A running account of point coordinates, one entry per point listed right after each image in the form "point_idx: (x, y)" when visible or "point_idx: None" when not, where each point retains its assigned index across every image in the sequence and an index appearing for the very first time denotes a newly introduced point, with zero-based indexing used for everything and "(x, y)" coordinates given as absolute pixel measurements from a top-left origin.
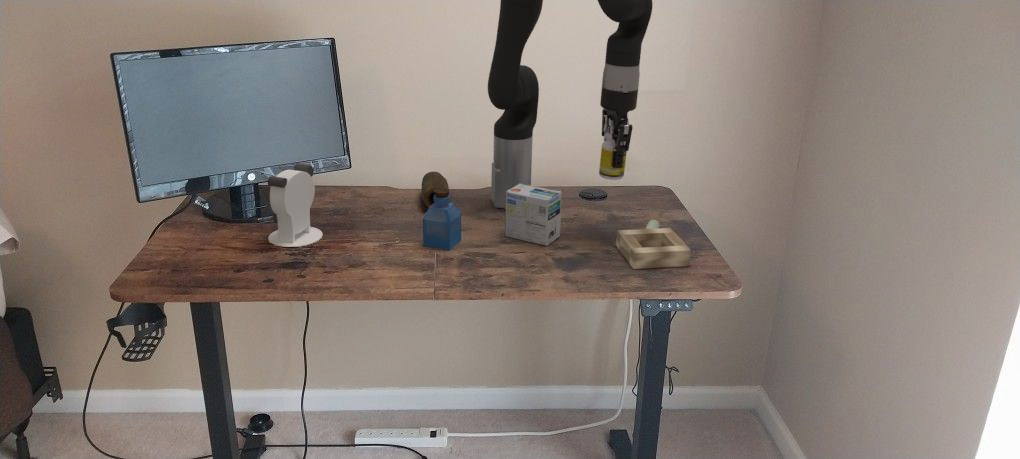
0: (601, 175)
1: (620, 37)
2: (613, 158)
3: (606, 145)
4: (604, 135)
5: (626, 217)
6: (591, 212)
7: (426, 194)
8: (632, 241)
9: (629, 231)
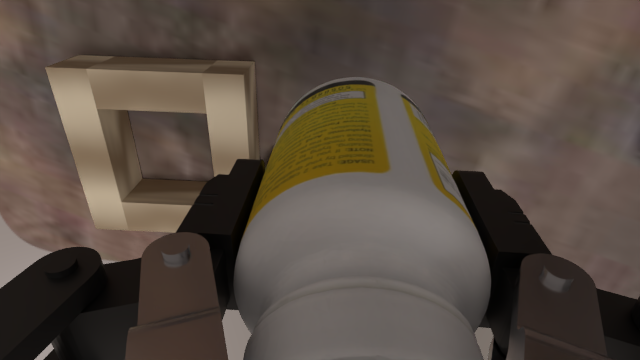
0: (330, 82)
1: None
2: (220, 196)
3: (302, 218)
4: (589, 305)
5: (464, 168)
6: (551, 72)
7: None
8: (144, 94)
9: (231, 114)
